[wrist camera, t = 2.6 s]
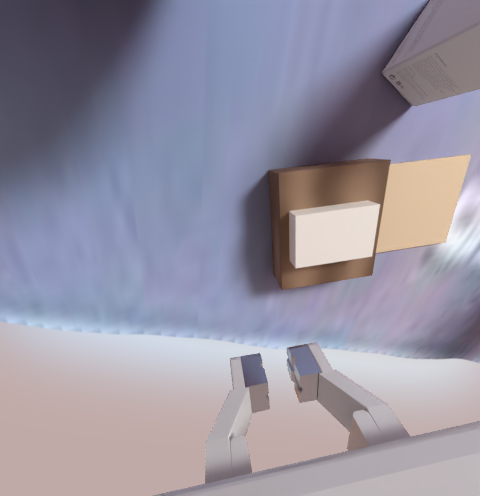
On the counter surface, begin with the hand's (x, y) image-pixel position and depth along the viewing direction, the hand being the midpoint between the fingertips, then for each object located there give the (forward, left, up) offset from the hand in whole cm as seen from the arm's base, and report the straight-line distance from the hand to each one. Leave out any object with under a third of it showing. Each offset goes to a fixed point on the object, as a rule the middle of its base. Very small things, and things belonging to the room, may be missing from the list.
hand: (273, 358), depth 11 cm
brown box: (-11, 0, -19) cm, 22 cm away
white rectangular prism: (-10, 0, -15) cm, 18 cm away
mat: (-24, 0, -19) cm, 31 cm away
